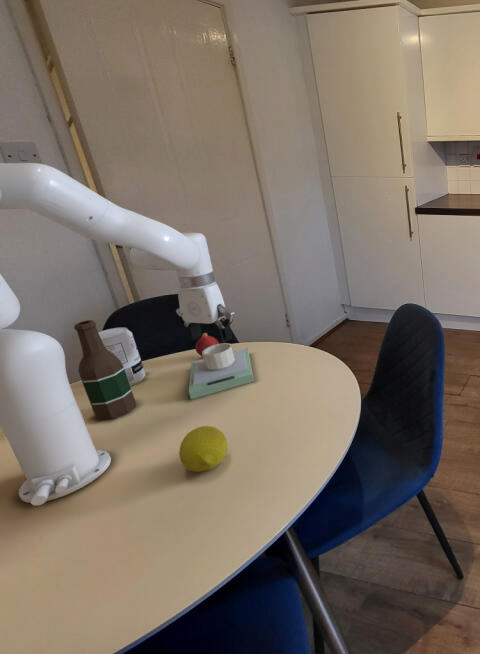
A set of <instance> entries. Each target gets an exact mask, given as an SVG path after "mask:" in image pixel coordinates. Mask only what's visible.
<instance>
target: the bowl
mask: <svg viewBox="0 0 480 654" xmlns="http://www.w3.org/2000/svg"><path fill="white" fill-rule="evenodd" d="M233 352H234V350H233V346H232V344H231V343H226V342H224V343H219V344H217V345H213V346H210V347H208V348H206V349H204V350H203V351H202V355H203V356H202V359H204V362H205V366H206V368H207V369H211V370H219V369H223V368H226V367H228V366H230V365H231V364H232V363H233V362H234V361H235V357H234V353H233Z"/></svg>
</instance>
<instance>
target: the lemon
mask: <svg viewBox="0 0 480 654" xmlns="http://www.w3.org/2000/svg"><path fill="white" fill-rule="evenodd" d="M227 452H228V438H227V436H226V435H225V433H224V432H223V431H222V430H221V429H219V428H217V427H216V426H215V427H214V426H209V425H203V426H199V427H197V428H194V429H192V430H191V431H189V432H188V433H186V435H185V436H184V437H183V439H182V441H181V442H180V445H179V451H178V454H179V455H178V456H179V459H180V462H181V463H180V464H182V466H183V467H184V468H185V469H186V470H188V471H191V472H195V473H197V472H198V473H199V472H207V471H211V470H212V469H214V468H216V467H217V466H219V465H220V464H221V463H222V462H223V461H224V459H225V457H226V454H227Z"/></svg>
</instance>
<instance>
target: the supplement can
mask: <svg viewBox="0 0 480 654" xmlns="http://www.w3.org/2000/svg"><path fill="white" fill-rule="evenodd" d="M98 333H99V335H100V338H101V340H102V342H103V344H104V346H105V348H106V349H107V350H108V351H110V352H112V353H113V354H114V355H115V356H116V357H117V358H118V359H119V360H120V361H121V363H122V365H123V367H124V370H125V373H126V376H127V378H128V381H129V384H130V387H132V386H134V385H136V384H138V383H140V382H141V381H143V380H144V378H145V376H146V371H145V367H144V364H143V362H142V359H141V356H140V352H139V350H138V346H137V344H136V341H135V338H134V334H133V332H132V331H130V330H129V329H128V327H120V326H119V327H114V328H108V329H105V330H102V331H98Z"/></svg>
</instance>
